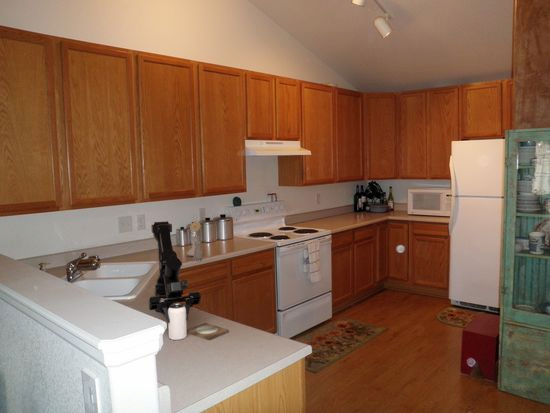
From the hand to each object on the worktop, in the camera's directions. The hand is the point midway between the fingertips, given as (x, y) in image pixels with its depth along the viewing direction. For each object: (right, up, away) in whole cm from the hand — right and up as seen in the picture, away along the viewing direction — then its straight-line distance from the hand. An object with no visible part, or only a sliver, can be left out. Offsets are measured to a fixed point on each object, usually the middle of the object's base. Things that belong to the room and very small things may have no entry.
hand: (178, 321), depth 162 cm
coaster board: (+10, -6, +7) cm, 13 cm away
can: (-1, -7, +2) cm, 7 cm away
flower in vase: (-22, +6, +155) cm, 157 cm away
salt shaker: (-17, +5, +140) cm, 142 cm away
